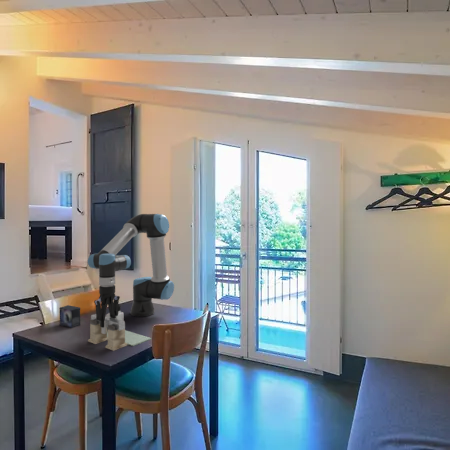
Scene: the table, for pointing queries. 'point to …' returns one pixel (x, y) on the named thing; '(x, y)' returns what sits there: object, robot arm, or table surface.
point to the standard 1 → (96, 333)
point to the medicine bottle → (120, 315)
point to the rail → (111, 322)
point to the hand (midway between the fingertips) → (107, 332)
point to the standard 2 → (115, 338)
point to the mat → (134, 338)
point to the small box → (70, 316)
